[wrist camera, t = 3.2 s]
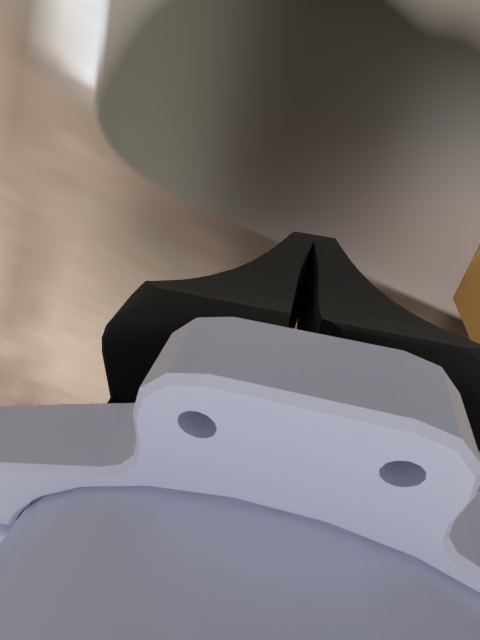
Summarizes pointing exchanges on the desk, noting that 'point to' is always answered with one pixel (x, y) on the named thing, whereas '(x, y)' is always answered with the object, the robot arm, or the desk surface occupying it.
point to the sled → (470, 299)
